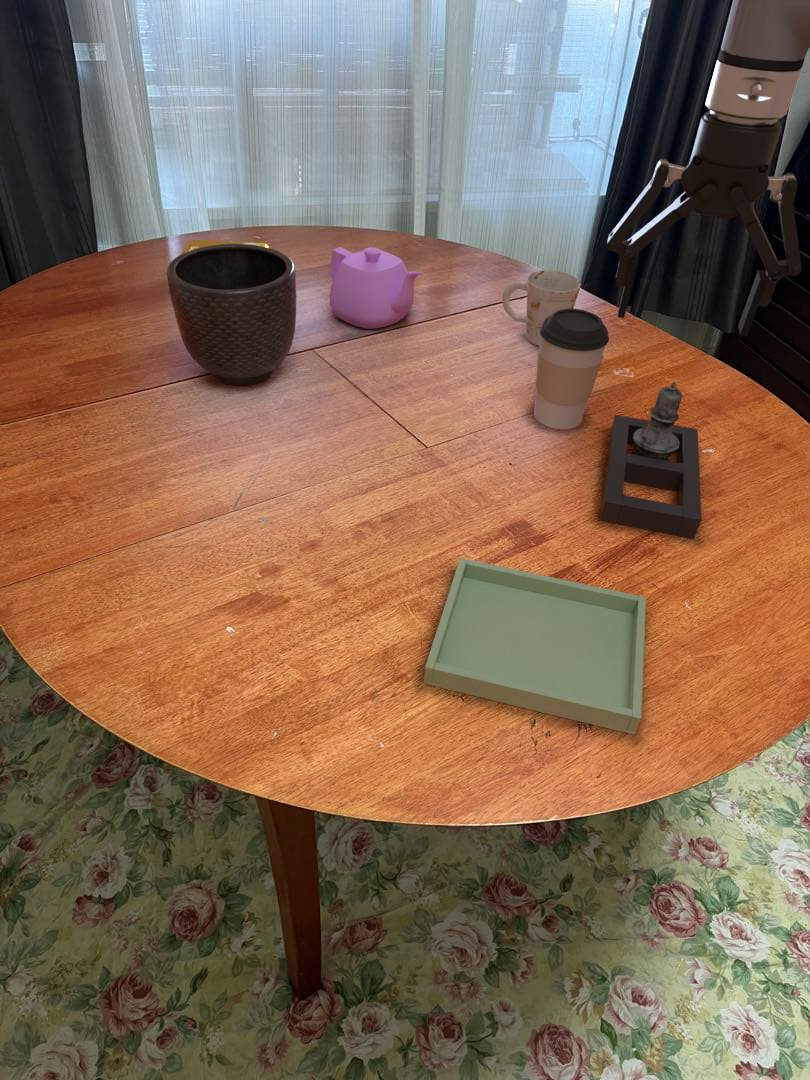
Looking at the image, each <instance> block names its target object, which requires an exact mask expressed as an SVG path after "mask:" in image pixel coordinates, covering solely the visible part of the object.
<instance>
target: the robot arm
mask: <svg viewBox="0 0 810 1080" xmlns="http://www.w3.org/2000/svg"><path fill="white" fill-rule="evenodd" d="M722 38H723V39H722V43H721V46H720V50H719V53H718V57H717V60H716V63H715V67H714V70H713V74H712V78H711V81H710V85H709V89H708V92H707V96H706V100H705V106H706V108H707V109H708V110H709V111H707V112H705V113H704V114H703V115H702V116H701V118H700V122H699V125H698V129H697V134H696V137H695V141H694V144H693V148H692V152H691V155H690V158H689V160H688V162H687V163H686V165H684V166H683V165H678V164H674V163H670V162H669V160H668V159H667V158H660V159H659V160H658V161H657V163H656V166H655V169H654V171H653V174H652V177H651V180H650V181H649V182H648V184H647V185H646V186H645V187H644V189H643V190H642V191H641V192H640V194H639V195H638V197H637V198H636V199H635V201H634V202H633V203H632V204H631V206H630V207H629V209H628V210H627V211H626V212H625V213H624V215H623V216H622V217H621V219H620V220H619V222H618V223H617V224H616V226H615V227H614V228H613V229H612V231H611V232H610V234H608V237H607V241H606V249H607V251H608V252H614V253H616V254H618V256H619V261H618V266H617V269H616V274H615V280H614V281H615V286H617V287H623V288H622V293H621V297H620V300H619V305H618V310H617V318H621V319H624V318H625V316H626V313H627V308H628V304H629V302H630V301H629V300H630V297H631V292H632V288H633V284H634V281H635V276H636V272H637V268H638V265H639V256H640V255H639V253H640V251H642V250H643V249H644V248H646V247H647V246H648V245H649V244H650V243H652V242H653V241H654V240H655V239H657V238H658V237H660V236H661V235H662V234H663V233H665V232H666V231H667V230H668V229H669V228H671V227H672V226H673V225H675V223H677V222H678V221H679V220H681V219H684V218H685V217H687V215H689V214H690V213H691V212H694V213H695V214H698V217H704V218H705V217H706V218H707V217H717V218H720V219H723V220H728V221H730V219H732V218H735V217H737V216H738V215H739V218H740V219H741V222H742V223H743V225H744V228H745V229H746V231H747V233H748V235H749V237H750V239H751V241H752V243H753V245H754V248H755V250H756V253H757V254H758V256H759V259H760V260H761V262H762V265H763V266H764V269H765V270H764V269H763V270H762V269H757V272H756V275H755V278H754V279H753V283H752V286H751V289H750V291H749V295H748V297H747V300H746V303H745V306H744V309H743V311H742V313H741V317H740V320H739V323H738V332H739V336H740V337H748V336H749V333H750V330H751V327H752V324H753V321H754V318H755V316H756V313H757V310H758V308H759V307H765V308H767V306H768V305H769V304H770V303H771V300H772V297H773V295H774V293H775V290H776V287H777V285H778V282H780V281H781V280H782V279H783V277H787V276H792V277H797V276H799V275H800V274H801V273H802V270H803V267H802V260H801V252H800V244H799V236H798V230H797V229H798V228H797V221H796V215H795V205H794V204H795V199H796V194H797V190H798V187H799V183H798V181H797V178H796V175H795V174H794V173H792V172H788V173H785V174H784V175H783V176H769V168H770V165H771V162H772V159H773V156H774V152H775V150H776V147H777V145H778V141H779V138H780V135H781V132H782V129H783V126H782V123H781V122H780V120H779V119H782V118H783V117H785V116H786V115H787V113H788V110H789V109H790V104H791V102H792V99H793V96H794V92H795V89H796V86H797V83H798V80H799V76H800V74H801V71H802V68H803V66H804V63H805V59H806V56H807V54H808V52H809V49H810V0H732V4H731V7H730V11H729V15H728V18H727V23H726V27H725V31H724V35H723V37H722ZM676 180H680V181H681V184H682V187H683V190H684V191H683V193H682V194H680V195H679V196H678V197H677V198H676V199H674V201H673V202H672V203H671V204H670V205H669V206H668V207H666V208H665V209H664V210H663V211H661V212H659V214H658V215H656V216H655V217H654V218H653V219H651V220H650V221H649V222H648V223H647V224H646V225H644V226H643V227H642V228H640V229H639V230H638V231H636V232H635V233H634V234H632V236H630V238H629V239H627V240H626V238H627V236H628V235H629V234H630V233H631V232H632V231H633V229H634V227H636V225H637V224H638V223H639V221H640V220H641V219H642V217H643V216H644V215H645V213H646V212H647V211H648V209H650V207H651V206H652V204H654V202H655V201H656V200H657V198H658V197H659V196H660V194H661V192H662V190H663V188H669V187H671V186H672V184H673V183H674V182H675V181H676ZM766 191H770V192H771V196H772V199H773V200H774V201H776V202H777V206H778V213H779V220H780V228H781V236H782V241H783V248H784V249H783V250H784V256H785V259H782V260H778V258H777V256H776V254H775V251H774V249H773V247H772V245H771V243H770V240H769V238H768V237H767V235H766V232H765V230H764V228H763V226H762V224H761V222H760V220H759V217H758V215H757V214H756V213H757V212H756V210H755V208H754V206H753V203H754V202H755V201H756V200H758V198H759V197H761V196H762V195H763V194H764V193H765V192H766Z"/></svg>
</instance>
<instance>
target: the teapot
mask: <svg viewBox="0 0 810 1080" xmlns="http://www.w3.org/2000/svg"><path fill="white" fill-rule="evenodd" d="M421 274H422V271H418V270H412V271H408V270H407V267H406V265H405V263H404V261H403V260H402V258H401V257H399V256H397V255H394V254H392V253H389V252H387V251H383V250H381V249H380V248H377V247H367V248H365V249H363V250H360V251H357V252H354V253H353V252H352V251H350V250H348V249H346V248H344V247H342V246H338V247H336V248H333V249H332V252H331V258H330V263H329V268H328V275H329V276H330V278H331V280H332V283H331V286H330V292H329V305H330V308H331V310H332V311H333V313H334V314H335V315H336V316H337V318H338V319H340V320H342V321H344V322H345V323H348V324H350V325H352V326H355V327H358V328H361V329H367V330H368V329H370V330H371V329H372V330H373V329H379V328H383V327H388V326H391V325H394V324H396V323H399V321H400V322H401V320H403V319H404V318H405V317H406V316H407V315H408V314H409V312H410V311H411V309H412V307H413V305H414V296H415V295H414V294H415V281H416V279H417V277H418V276H419V275H421Z"/></svg>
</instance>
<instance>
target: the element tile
mask: <svg viewBox="0 0 810 1080" xmlns="http://www.w3.org/2000/svg"><path fill="white" fill-rule="evenodd" d="M220 244H249V245H257V246H263V247H267V248H270V247H269V245H268V244H267V243H263V242H250V241H249V242H248V241H229V240H206V239H192V240H191V241H189V242H188V243H187V244H186V245H185V247H184V249H183V250H182V252H181V254H183V253H185V252H188V251H190V250H193V249H197V248H201V247H206V246H211V245H220Z"/></svg>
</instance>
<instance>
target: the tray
mask: <svg viewBox="0 0 810 1080" xmlns="http://www.w3.org/2000/svg"><path fill="white" fill-rule="evenodd" d="M646 613H647V597H646V596H643V595H638V594H633V593H629V592H623V591H619V590H614V589H609V588H605V587H600V586H597V585H596V586H595V585H592V584H586V583H581V582H578V581H577V582H576V581H571V580H567V579H563V578H557V577H552V576H549V575H545V574H544V575H543V574H538V573H534V572H529V571H525V570H520V569H515V568H510V567H506V566H501V565H496V564H491V563H487V562H482V561H477V560H473V559H467V558H463V557H459V560H458V563H457V566H456V569H455V572H454V575H453V579H452V582H451V585H450V587H449V591H448V593H447V597H446V600H445V604H444V607H443V609H442V613H441V616H440V618H439V621H438V625H437V629H436V632H435V634H434V638H433V641H432V644H431V646H430V647H431V648H430V650H429V654H428V656H427V659H426V663H425V665H424V674H423V675H424V676H423V684H424V685H428V686H431V687H436V688H440V689H444V690H448V691H452V692H456V693H460V694H465V695H469V696H473V697H477V698H482V699H486V700H490V701H494V702H498V703H502V704H507V705H510V706H515V707H518V708H522V709H527V710H531V711H534V712H539V713H544V714H546V715H547V714H548V715H551V716H555V717H559V718H564V719H568V720H571V721H577V722H580V723H585V724H589V725H593V726H597V727H599V728H600V727H601V728H604V729H610V730H613V731H618V732H622V733H626V734H630V735H633V736H634V735H636V733H637V730H638V728H639V725H640V723H641V720H642V711H643V710H642V709H643V688H644V687H643V686H644V685H643V684H644V663H645V662H644V661H645V639H646V636H645V635H646V615H647V614H646Z"/></svg>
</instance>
